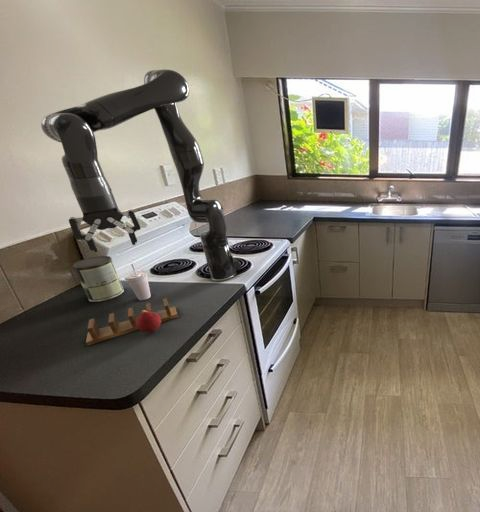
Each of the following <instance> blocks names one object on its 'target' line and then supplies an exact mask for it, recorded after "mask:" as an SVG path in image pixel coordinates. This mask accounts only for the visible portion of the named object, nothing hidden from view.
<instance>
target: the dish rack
mask: <svg viewBox="0 0 480 512" xmlns="http://www.w3.org/2000/svg"><path fill="white" fill-rule="evenodd" d="M162 301H163V302H162V303H163V305H164V306H163V307H164V309H161V310H158V311H155V313H157V314H158V315H159V316H160V318H161V323H163V322H164V323H165V322H167V321H170V320H173V319H176V318H178V317H179V315H178V312H177V308H176V306H172V307H170V305H169V302H168V299H167V297H165V298H162ZM145 307H146V311H150V312H154V311H153V308H152V305H151V303H150V302H146V303H145ZM127 317H128V320H125V321H122V322H118V319H117V317H116V316H115V313H114V312H112V313H109V314H108V325H109V326H108V325H107V326H105V327H101V328H99V326H98V324H97V322H96V320H95V318H94V317H93V318H89V319H88V324H87V331H88V332H87V334H86V340H85V344H86V345H87V346H91V345H94V344H98V343H100V342H103V341H107V340H110V339H113V338H116V337H120V336H122V335H126V334H129V333H132V332H135V331H138V330H139V329H138V328H137V325H136V321H137V319H138V317H137V316H136V313H135V311H134V309H133V307H129V308H127ZM139 331H140V330H139Z"/></svg>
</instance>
